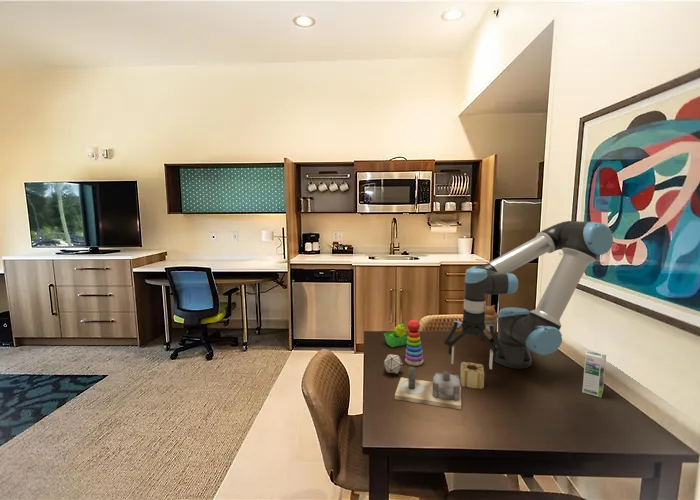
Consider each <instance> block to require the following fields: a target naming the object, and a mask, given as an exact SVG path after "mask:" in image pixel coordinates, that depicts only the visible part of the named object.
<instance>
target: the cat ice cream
mask: <svg viewBox="0 0 700 500" xmlns="http://www.w3.org/2000/svg"><path fill="white" fill-rule="evenodd" d="M495 308H496V305H495V304H493V305H486V304H485V311H484V312H485V321H484V324H485V325H490V324H492V325H493V328H494V333H495V334H496V329H497V328H498V327H497V324H498V321H499V318H498V317H499V313H497V312H496V309H495ZM483 332H484V334H485V335H486V336H487V337H488V339H489V340H490V341H491V339H492V340H493V337H492V335H491V333H490V331H488V329H487V328H485V329H484V331H483Z"/></svg>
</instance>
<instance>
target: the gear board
mask: <svg viewBox="0 0 700 500" xmlns="http://www.w3.org/2000/svg"><path fill="white" fill-rule="evenodd" d="M407 371H408V373H407V374H408V376H407V378H406V377H403V376H402V377H400V378H399V381H398V384H397V387H396V390H395V393H394V400H396V401H404V402H411V403H416V404H424V405H429V406H435V407H442V408H448V409H455V410H462V385H460V382H461V377H460V376H459V375H457V374H455V375H454V374H451V372H450V371H447V370H444V371H443V372H441V373H439V372H438V371H437V372H434V373H433V377H432V381H429V380H423V379H422V380H421V379H417V378H416V367H415V366H409V367H408V370H407Z"/></svg>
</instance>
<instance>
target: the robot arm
mask: <svg viewBox="0 0 700 500" xmlns="http://www.w3.org/2000/svg"><path fill="white" fill-rule="evenodd" d="M613 245H614V235H613V234H612V230H611V228H610V227H609V226H607V224H605V223H602V222H596V221H580V220H579V221H577V220H576V221H575V220H567V221H566V220H565V221H562V222H559V223H556V224H554V225H552V226H549V227H547V228H545V229H543V230H541V231H540V232H538V233H537V234H536V236H535V237H533V238H532V239H530V240H528V241H526V242H524V243H522V244H521V245H519V246H517V247H515V248H512V250H509V251H507V252H505V253H504V254H501V255H500V256H498V257H497V258H495V259H492V260H490V261H489V262H486V263H485V264H483V265H481V266H480V265H477V266H476V265H474V266H472V267H470V268H467V269H466V270H465V275H464V291H463V292H464V296H463V311H462V313H463V314H462V321H459V320H455V319H454V322H453V326H452V327H451V329H450V330H449V332H448V333H447V335H446V337H445V339H444V341H443V344H444V345H446V346H448V355H451V362H450V364H451V365H454V361H455V360H454V359H455V358H454V357H455V344H456V343H457V342H458V341H460V339H462V338H463V337H464V336H465V335H468V336H474V337H477V336H480V337H481V338H482V340H484V342H485V343H486V345H487V346H488V347H489V349H490V350H489V359H488V361H489V363H488V366H489V367H488V368H489V370H493V362H495V363H497V364H498V365H501V366H503V367H506V368H511V369H527V368H530V367H531V366H532V356H531V352H532V353H535V354H537V355H540V356H547V355H549V354H550V355H551V354H553V353H555V352H556V351H557V350H558V349H559V348H560V347H561V345H562V343H563V338H562V337H563V335H562V333H561V332H562V331H561V327H562V324H561V321H560V320H561V318H562V316H563V313H564V312H565V311H566V308H567V306H568V305H569V302H570V300H571V298H572V296H573V294H574V292H575V290H576V288H577V287H578V285H579V284H580V281H581V279H582V277H583V275H584V273H585V271H586V269H587V267H588V266H589V264H591V263H594V262H596V260H597V258H598V256H603V255H604V254H606V253H608V252H609V251H610V250H611V249H612V246H613ZM560 250H561V251H562V253H563V255H562V256H561V259H560V261H559V263H558V265H557V267H556V269H555V271H554V273H553V275H552V277H551V279H550V281H549V283H548V284H547V287H546V289H545V290H544V292H543V294H542V296H541V298H540V300H539V302H538V304H537V306H536V308H535V309H533V310H528V309H527V308H522V307H504V308H501V309H500V310H499V312H498V318H497V319H498V322H497V324H498V327H497V329H498V330H497V335H496V332H495V333H494V328H493V325H492V324H490V325H485V324H484V321H485V312H484V311H485V305H486V301H487V300H486V299H487V298H486V297H487V295H509V294H514V293H516V292H517V291H518V289H519V280H518V277H517V276H516V275H515V274H513V273H512V272H514V271H515V270H517V269H518V268H521V267H523V266H524V265H526V264H528V263H530V262H532V261H533V260H535V259H537V258H539V257H541V256H543V255H545V254H547V253H548V254H552V253H554V252H556V251H560ZM460 326H461V328H462V330H460V331H459V333H457V334H456V335H455V336H454V333H456V331H457V328H460ZM485 328H487V329H488V331H490V333H491V335H492V340H493V341H494V343H495V345H494V343H493V342H492V341H491V339H490V340H489V339H488V337H487V336H486V335H485V334H484V332H483V331H484V329H485ZM453 336H454V337H453ZM452 337H453V338H452Z"/></svg>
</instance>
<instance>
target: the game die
mask: <svg viewBox="0 0 700 500" xmlns="http://www.w3.org/2000/svg"><path fill="white" fill-rule="evenodd" d="M381 364H383V366H384V368H385V374H386V375H387V374H388V373H389V374H395V375H397V376H398V377H399V376H400V374H399V372H400V370H401V369H402V368H403V366H405V364H404V363H403V362H402V359H401V353H398V354H393V353H391V354H390V353H389V351H388V352H387V356H386V358H385V359H384V361H383V362H381Z"/></svg>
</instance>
